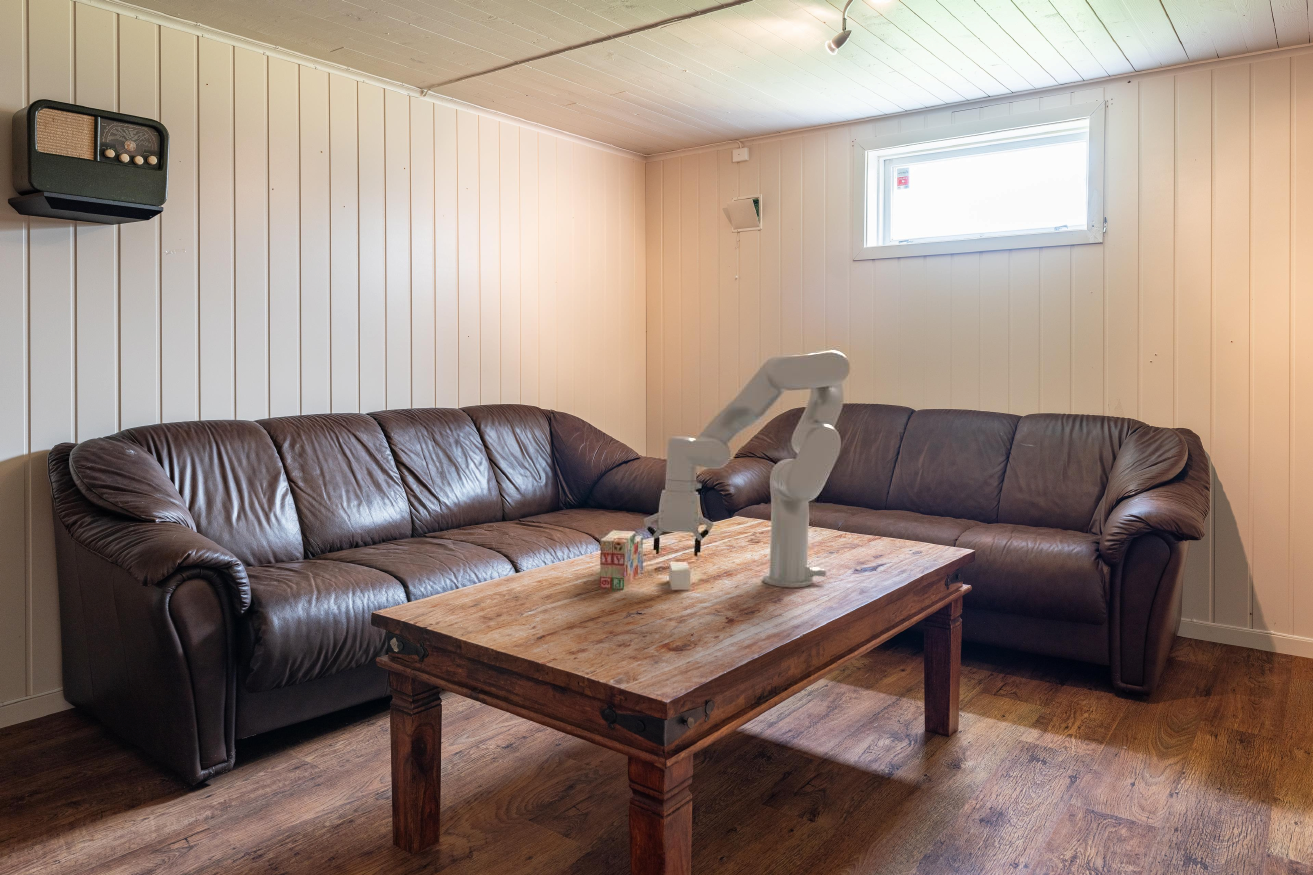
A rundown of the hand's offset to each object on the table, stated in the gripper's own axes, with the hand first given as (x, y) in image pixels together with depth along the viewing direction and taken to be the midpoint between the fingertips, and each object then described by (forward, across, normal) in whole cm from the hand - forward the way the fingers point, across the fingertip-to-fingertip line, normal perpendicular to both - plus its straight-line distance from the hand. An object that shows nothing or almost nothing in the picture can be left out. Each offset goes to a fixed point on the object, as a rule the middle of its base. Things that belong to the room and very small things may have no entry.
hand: (676, 554), depth 218 cm
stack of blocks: (+9, +13, -6) cm, 17 cm away
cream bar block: (+8, -1, 0) cm, 8 cm away
